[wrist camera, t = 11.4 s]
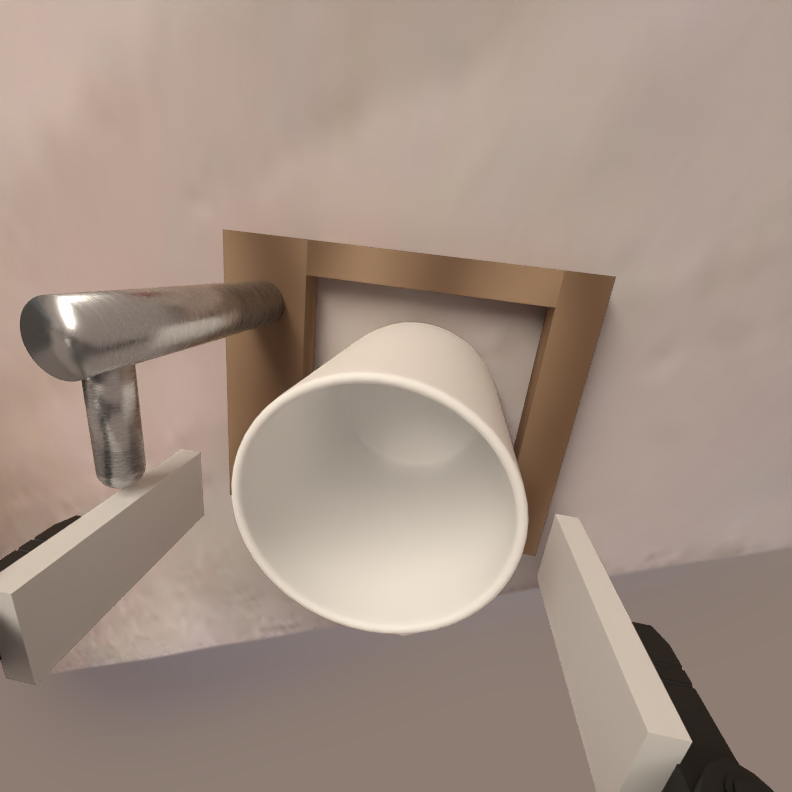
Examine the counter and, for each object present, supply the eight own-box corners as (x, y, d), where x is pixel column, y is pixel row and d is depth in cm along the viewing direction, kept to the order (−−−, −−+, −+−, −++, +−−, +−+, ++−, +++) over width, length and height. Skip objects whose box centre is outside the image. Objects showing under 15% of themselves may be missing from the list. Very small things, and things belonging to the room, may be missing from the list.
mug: (495, 529, 22) (523, 735, 12) (353, 525, 23) (278, 707, 14) (495, 313, 18) (533, 365, 9) (327, 324, 20) (200, 379, 10)
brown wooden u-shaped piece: (243, 481, 24) (230, 494, 22) (240, 232, 19) (222, 229, 18) (530, 537, 22) (535, 555, 20) (603, 276, 17) (615, 276, 16)
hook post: (245, 391, 20) (54, 500, 11) (244, 278, 18) (12, 289, 9) (282, 397, 20) (121, 515, 10) (284, 283, 18) (91, 301, 9)
